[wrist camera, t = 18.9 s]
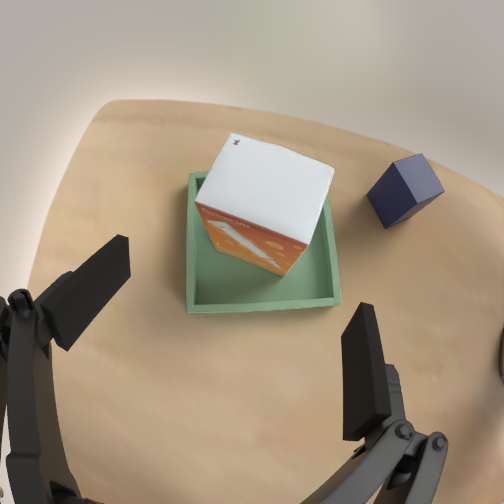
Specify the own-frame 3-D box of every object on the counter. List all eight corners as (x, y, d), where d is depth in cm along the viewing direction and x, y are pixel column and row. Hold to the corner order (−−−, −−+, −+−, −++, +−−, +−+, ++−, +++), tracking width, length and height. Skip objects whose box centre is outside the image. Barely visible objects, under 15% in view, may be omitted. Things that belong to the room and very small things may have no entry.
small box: (214, 251, 30) (190, 200, 17) (237, 201, 31) (230, 128, 19) (284, 279, 29) (310, 246, 17) (304, 226, 31) (336, 165, 18)
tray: (319, 177, 33) (323, 168, 31) (335, 305, 29) (341, 304, 27) (192, 182, 33) (188, 172, 30) (191, 313, 29) (186, 312, 27)
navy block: (393, 184, 33) (422, 153, 25) (411, 216, 32) (445, 191, 24) (366, 194, 32) (392, 161, 25) (384, 229, 31) (417, 203, 24)
